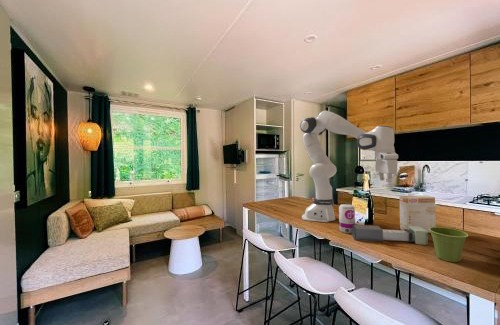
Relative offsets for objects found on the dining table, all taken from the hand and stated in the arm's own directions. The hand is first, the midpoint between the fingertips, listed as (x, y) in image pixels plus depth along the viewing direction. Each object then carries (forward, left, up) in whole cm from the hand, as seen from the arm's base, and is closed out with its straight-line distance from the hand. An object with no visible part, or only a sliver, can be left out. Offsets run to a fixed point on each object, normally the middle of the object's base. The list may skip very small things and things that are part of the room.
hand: (385, 181), depth 114 cm
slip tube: (+1, -7, -29) cm, 30 cm away
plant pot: (+14, -25, -29) cm, 41 cm away
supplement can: (-19, +3, -29) cm, 35 cm away
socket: (+11, -7, -29) cm, 32 cm away
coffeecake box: (+19, +10, -29) cm, 36 cm away
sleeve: (-12, -7, -29) cm, 32 cm away
